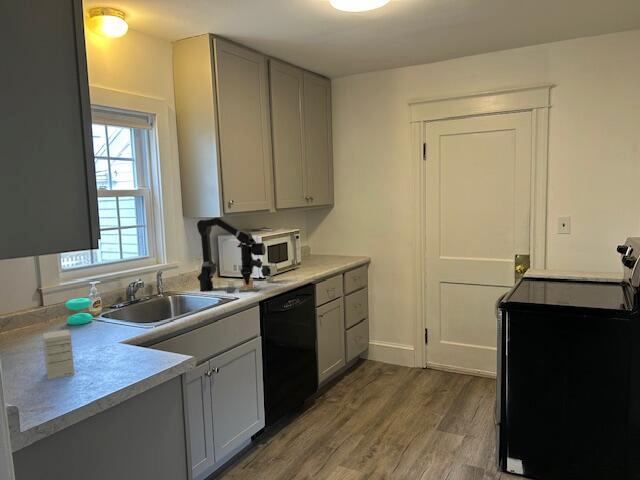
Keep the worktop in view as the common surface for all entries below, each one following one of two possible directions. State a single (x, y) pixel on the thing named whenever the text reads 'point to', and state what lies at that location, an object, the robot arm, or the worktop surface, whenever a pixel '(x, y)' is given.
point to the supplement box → (58, 354)
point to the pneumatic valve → (269, 271)
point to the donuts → (80, 317)
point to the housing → (249, 284)
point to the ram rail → (230, 289)
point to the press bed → (248, 289)
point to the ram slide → (230, 283)
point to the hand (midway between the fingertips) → (248, 283)
